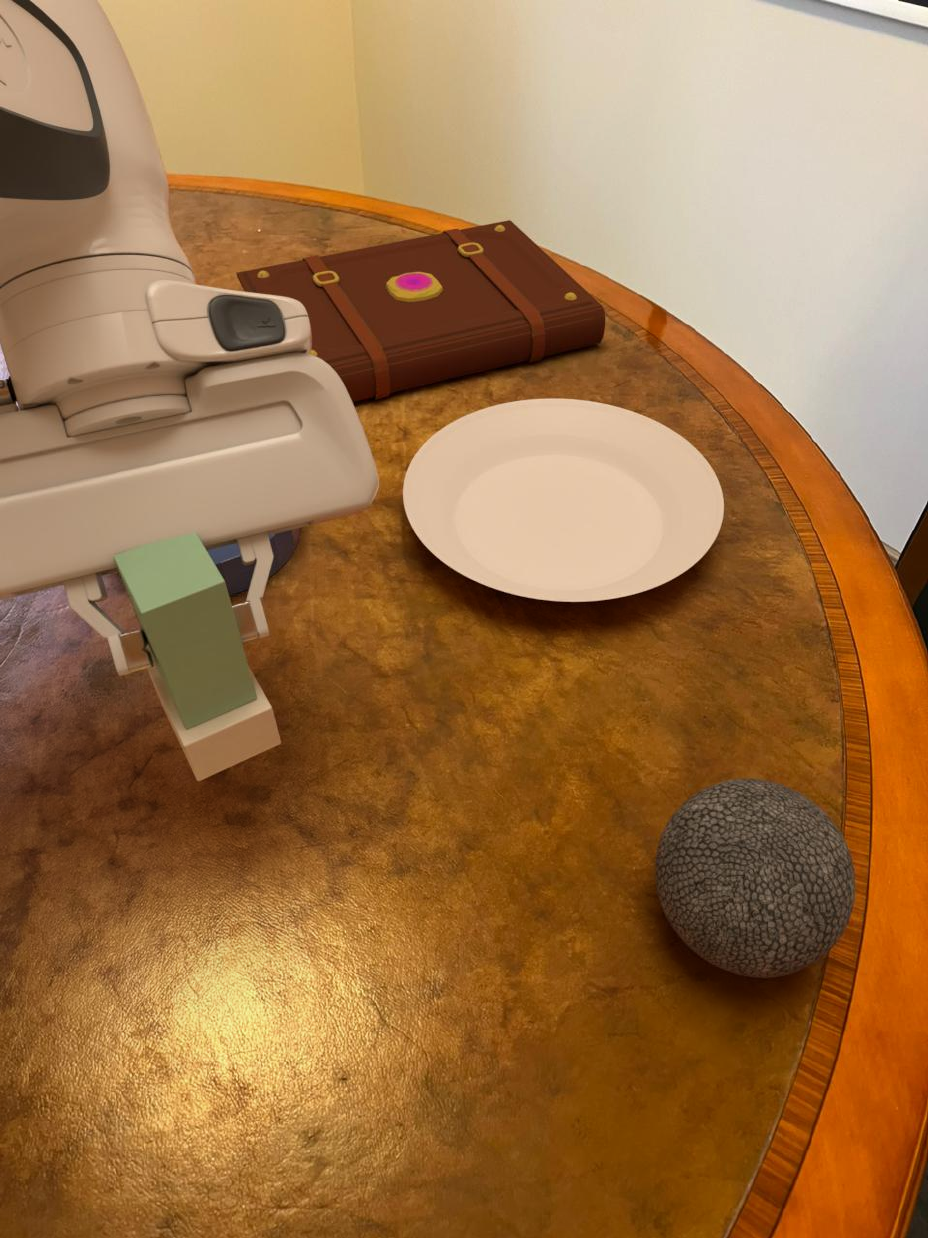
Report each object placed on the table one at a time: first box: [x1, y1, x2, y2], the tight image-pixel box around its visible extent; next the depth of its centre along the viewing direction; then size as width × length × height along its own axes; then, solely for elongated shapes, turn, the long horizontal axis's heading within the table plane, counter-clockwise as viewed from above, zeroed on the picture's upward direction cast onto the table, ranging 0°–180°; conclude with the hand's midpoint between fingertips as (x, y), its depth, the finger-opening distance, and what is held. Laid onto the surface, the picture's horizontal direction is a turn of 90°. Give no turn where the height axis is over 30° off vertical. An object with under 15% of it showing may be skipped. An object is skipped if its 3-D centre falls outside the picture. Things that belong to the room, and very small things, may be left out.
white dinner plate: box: [402, 398, 725, 603], centre depth 74 cm, size 25×25×4 cm
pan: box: [207, 528, 301, 597], centre depth 73 cm, size 14×14×4 cm
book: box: [235, 219, 606, 403], centre depth 95 cm, size 23×32×5 cm
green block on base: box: [114, 533, 282, 782], centre depth 43 cm, size 4×6×11 cm
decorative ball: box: [654, 777, 856, 979], centre depth 49 cm, size 10×10×10 cm
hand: (197, 655), depth 43 cm, fingers closed on green block on base, 4 cm apart
